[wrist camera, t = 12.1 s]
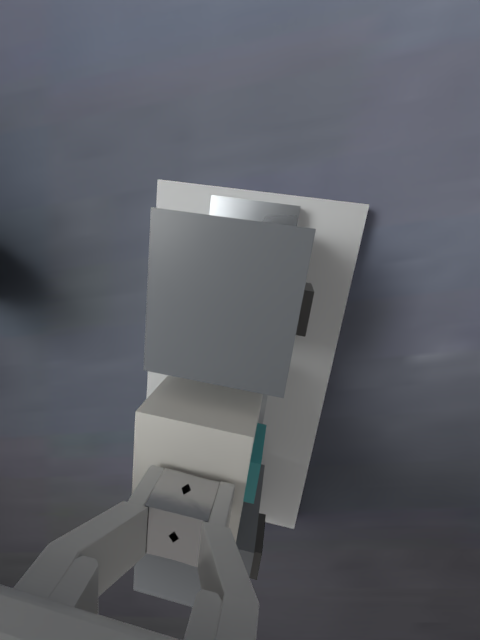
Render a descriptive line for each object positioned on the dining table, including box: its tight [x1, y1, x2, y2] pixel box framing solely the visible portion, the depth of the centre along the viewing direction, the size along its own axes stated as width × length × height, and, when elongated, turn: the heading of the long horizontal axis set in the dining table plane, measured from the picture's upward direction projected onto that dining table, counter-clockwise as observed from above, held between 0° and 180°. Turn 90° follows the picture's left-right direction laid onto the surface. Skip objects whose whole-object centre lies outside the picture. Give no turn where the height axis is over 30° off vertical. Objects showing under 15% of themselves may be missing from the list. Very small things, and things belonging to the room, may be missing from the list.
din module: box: [132, 375, 267, 542], centre depth 14 cm, size 5×4×6 cm
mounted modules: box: [133, 207, 316, 607], centre depth 14 cm, size 16×5×5 cm, turn 172°
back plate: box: [147, 179, 369, 529], centre depth 18 cm, size 19×10×1 cm, turn 172°
